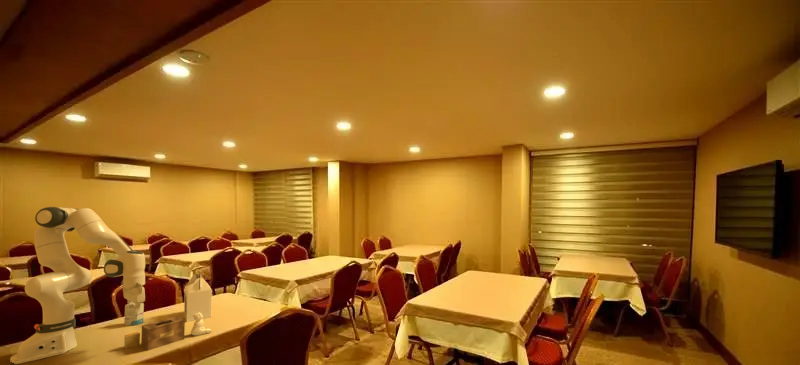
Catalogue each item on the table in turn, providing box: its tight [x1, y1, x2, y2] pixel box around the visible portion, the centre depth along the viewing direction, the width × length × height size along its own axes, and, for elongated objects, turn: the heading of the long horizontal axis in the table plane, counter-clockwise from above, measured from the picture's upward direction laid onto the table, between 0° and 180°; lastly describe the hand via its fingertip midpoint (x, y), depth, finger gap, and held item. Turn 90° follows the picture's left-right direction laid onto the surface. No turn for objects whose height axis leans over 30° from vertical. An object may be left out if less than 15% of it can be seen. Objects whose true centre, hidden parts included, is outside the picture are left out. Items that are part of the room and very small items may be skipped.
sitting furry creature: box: [190, 312, 212, 337], centre depth 182 cm, size 10×9×12 cm
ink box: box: [123, 302, 145, 326], centre depth 199 cm, size 9×5×12 cm, turn 84°
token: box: [123, 331, 141, 350], centre depth 167 cm, size 6×3×6 cm, turn 144°
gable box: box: [183, 269, 213, 323], centre depth 214 cm, size 22×13×28 cm, turn 37°
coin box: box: [140, 315, 186, 351], centre depth 171 cm, size 16×10×10 cm, turn 144°
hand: (134, 309), depth 169 cm, fingers open, 8 cm apart
